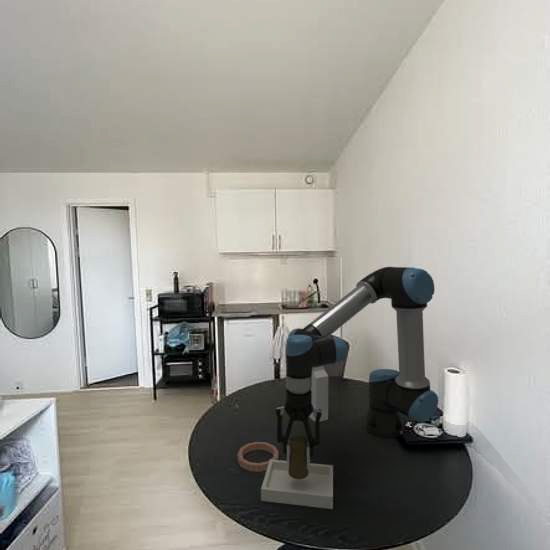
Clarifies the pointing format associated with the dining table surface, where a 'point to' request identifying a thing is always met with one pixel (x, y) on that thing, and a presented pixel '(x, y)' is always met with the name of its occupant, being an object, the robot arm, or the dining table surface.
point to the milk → (320, 392)
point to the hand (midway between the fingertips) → (298, 465)
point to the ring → (256, 446)
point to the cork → (298, 457)
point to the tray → (298, 485)
